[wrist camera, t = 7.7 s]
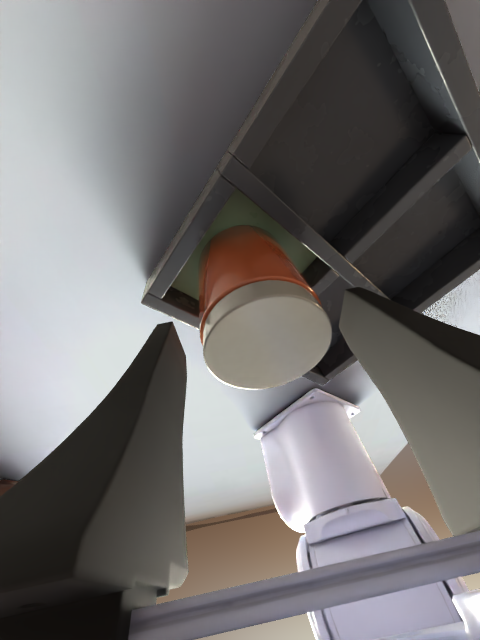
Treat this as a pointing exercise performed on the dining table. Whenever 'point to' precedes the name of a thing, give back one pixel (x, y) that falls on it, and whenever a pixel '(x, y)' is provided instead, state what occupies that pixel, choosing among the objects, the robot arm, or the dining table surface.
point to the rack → (350, 166)
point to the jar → (257, 311)
